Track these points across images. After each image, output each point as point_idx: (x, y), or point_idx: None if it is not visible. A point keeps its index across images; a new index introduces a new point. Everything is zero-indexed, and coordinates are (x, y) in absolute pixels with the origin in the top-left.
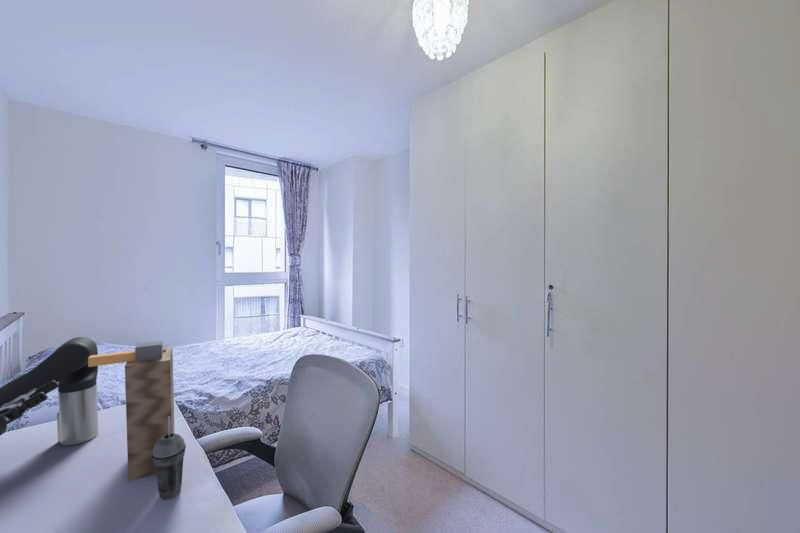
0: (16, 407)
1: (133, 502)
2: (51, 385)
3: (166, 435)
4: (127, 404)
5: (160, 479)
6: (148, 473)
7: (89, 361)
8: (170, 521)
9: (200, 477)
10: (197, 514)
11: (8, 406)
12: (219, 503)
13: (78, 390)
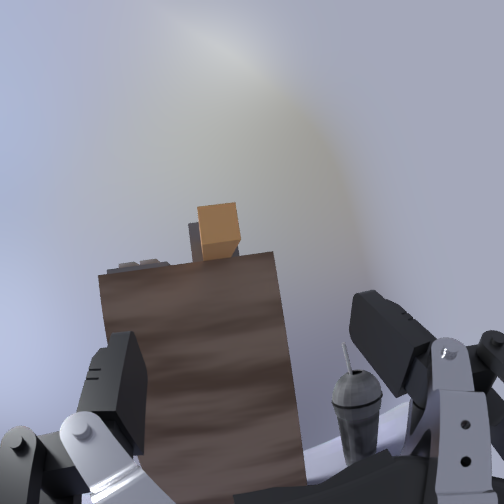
0: (464, 363)
1: None
2: (136, 364)
3: (345, 381)
4: (289, 365)
5: (377, 430)
6: None
7: (237, 217)
8: None
9: (324, 449)
10: (400, 423)
11: (459, 424)
12: (381, 417)
13: None
